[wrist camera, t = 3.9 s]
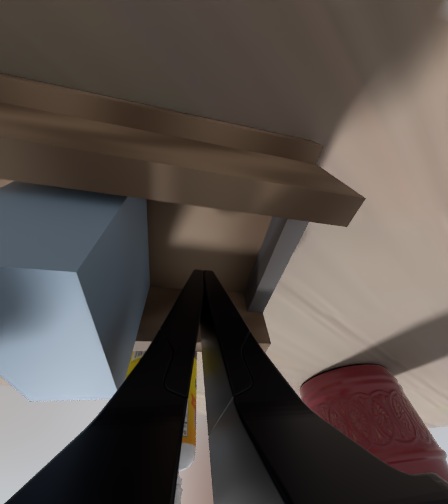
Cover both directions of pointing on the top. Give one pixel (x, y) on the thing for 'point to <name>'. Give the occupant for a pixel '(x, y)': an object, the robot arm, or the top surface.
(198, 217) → the wooden tray
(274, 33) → the top surface
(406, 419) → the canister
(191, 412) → the supplement bottle
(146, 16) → the top surface
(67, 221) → the block
